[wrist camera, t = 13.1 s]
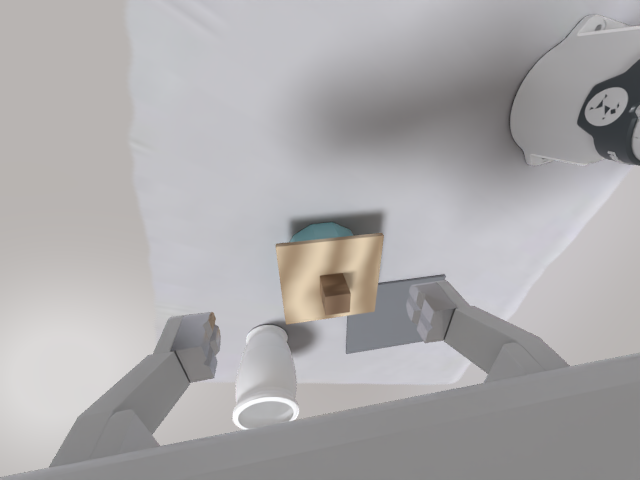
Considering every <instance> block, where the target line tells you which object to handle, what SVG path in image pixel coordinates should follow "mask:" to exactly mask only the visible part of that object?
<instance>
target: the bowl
mask: <svg viewBox="0 0 640 480" xmlns="http://www.w3.org/2000/svg"><path fill="white" fill-rule="evenodd" d="M346 236H354V235H353V233H352V232H351V230H350V229H347V228H345V227H343V226H340V225H338V224H336V223H333V222H329V223H318V224H311V225H309V226H308V227H306V228H304V229H303V230H301V231H300V232H298V233H296V234H295V235H293V237H292V239H291V241H290V242H298V241H308V240H317V239H327V238H336V237H346Z"/></svg>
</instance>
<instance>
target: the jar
mask: <svg viewBox="0 0 640 480" xmlns="http://www.w3.org/2000/svg"><path fill="white" fill-rule="evenodd" d="M287 340H288V336H287V333H286V332H285V331H284V330H283V329H282V328H280V327H278V326H274V325H262V326H259V327H256V328H254V329H253V330H251V331H250V332H249V333H248V335H247V337H246V343H247V345H246V347H245V349H244V352H243V354H242V358H241V362H240V365H239V369H238V373H237V378H236V403H237V405H236V406H235V408H234V410H233V422H234V424H235V425H236V426H238V427H239V428H241V429H243V430H246V429H251V428H256V427H261V426H267V425H272V424H277V423H282V422H287V421H292V420H295V419H296V417H297V416H298V413H299V407H298V403H297V401H296V399H295V397H296V371H295V366H294V362H293V359H292V354H291V351H290V348H289V346H288V344H287Z"/></svg>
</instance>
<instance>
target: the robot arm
mask: <svg viewBox="0 0 640 480" xmlns="http://www.w3.org/2000/svg"><path fill="white" fill-rule="evenodd" d="M510 128H511V133H512V136H513V139H514V140H515V142H516V143H517V144H518V145H519V146H520V147H521V148H522V150H523V151H524V155H525V160H526V163H527V164H528V165H532V166H538V165H542V164H545V163H549V162H552V161H561V162H566V163H570V164H575V165H581V166H587V165H588V164H590V163H596V162H599V161H601V160H604V159H609V160H614V161H616V162H619V163H623V164H629V165H640V26H629V25H626V24H624V23H621V22H618V21H615V20H612V19H610V18H607V17H604V16H601V15H588V16H586V17H585V18H583V19H582V20H581V21H580V22H579V23H578V25H577V26H576V27H575V28H574V29H573V30H572V32H571V33H570V34H569V35H568V37H567V38H566V39H565V40H564V41H562V42H561V43H560V44H558V45H557V46H556V47H554V48H553V49H551V50H550V51H549V52H548V53H546V54H545V55H544V56H543V57H542V58H541V59H540V60H539V61H538V62H537V63H536V64H535V65H534V67H533V68H532V69H531V70H530V72H529V73H528V75H527V76H526V78H525V79H524V81H523V82H522V84H521V86H520V88H519V90H518V92H517V94H516V97H515V100H514V103H513V106H512V110H511V117H510ZM409 293H410V295H411V296H410V297H409V298H408V299H407V304H406V307H407V313H408V315H409V318H410V319H411V321H412V322H413V323H415V324H417V325H418V326H417V331H418V333H419V334H420V336H421V338H422V339H423V341H424V343H429V342H436V341H443V340H444V342H446V343H447V344H448V345H450V346H451V347H452V348H454V349H455V350H456V351H458V352H459V353H460V354H462V355H463V356H465V357H466V358H467V359H469V360H470V361H471V362H473V363H474V364H475V365H477V366H478V367H480V368H481V369H482V370H484V371H485V372H486V373H487V374H488V375H487V377H486V379H485V381H484V383H482V384H477V385H472V386H467V387H462V388H456V389H451V390H446V391H441V392H436V393H431V394H426V395H420V396H415V397H411V398H405V399H400V400H395V401H390V402H384V403H379V404H374V405H370V406H365V407H359V408H354V409H349V410H344V411H339V412H333V413H328V414H323V415H318V416H313V417H308V418H303V419H298V420H292V421H287V422H282V423H277V424H272V425H267V426H261V427H256V428H251V429H246V430H241V431H236V432H231V433H225V434H220V435H215V436H210V437H205V438H200V439H195V440H189V441H184V442H179V443H174V444H169V445H164V446H160V445H159V443H158V442H157V441H156V440H155V438H154V437H153V436H152V434H153V433H154V432H155V430H156V429H157V428H158V426H159V425H160V424H161V422H162V421H163V420H164V418H165V417H166V416H167V414H168V413H169V412H170V410H171V409H172V408H173V406H174V405H175V404H176V402H177V401H178V400H179V398H180V397H181V396H182V394H183V393H184V392H185V390H186V389H187V388H188V386H189V385H190V383H191V382H197V381H202V380H207V379H212V378H214V376H215V371H216V366H217V359H216V357H215V355H216V354H217V353H218V352H219V350H220V340H221V336H220V330H219V327H218V326H217V325H215V320H216V318H215V316H214V313H213V312H207V313H198V314H189V315H183V316H174V317H170V318H169V319H168V321H167V323H166V325H165V328H164V330H163V332H162V334H161V337H160V339H159V341H158V344H157V346H156V348H155V350H154V353H153V354H152V355H148V356H147V357H146V358H145V359H143V360H142V361H141V362H140V363H139V364H138V365H137V366H136V367H135V368H133V369H132V370H131V371H130V372H129V373H128V374H126V375H125V376H124V377H123V378H122V379H121V380H120V381H118V382H117V383H116V384H115V385H114V386H113V387H112V388H111V389H110V390H108V391H107V392H106V393H105V394H104V395H103V396H101V397H100V398H99V399H98V400H97V401H96V402H95V403H93V404H92V405H91V406H90V407H89V408H88V409H87V410H85V411H84V412H83V413H82V414H81V415H80V416H79V417H78V418H77V420H76V422H75V423H74V425H73V427H72V428H71V430H70V432H69V434H68V435H67V437H66V439H65V440H64V442H63V444H62V446H61V447H60V449H59V451H58V452H57V454H56V456H55V457H54V459H53V461H52V463H51V464H50V466H49V468H45V469H40V470H35V471H29V472H24V473H19V474H14V475H9V476H4V477H0V480H640V353H636V354H631V355H626V356H621V357H616V358H611V359H605V360H600V361H595V362H590V363H585V364H580V365H575V366H570V365H568V364H567V363H566V362H565V361H564V360H563V359H562V358H561V357H560V356H559V355H558V354H557V353H556V352H555V351H554V350H553V349H551V348H550V347H549V346H548V345H547V344H546V343H545V342H544V341H543V340H542V339H541V338H539V337H538V336H536V335H534V334H532V333H529V332H527V331H525V330H523V329H521V328H519V327H517V326H515V325H513V324H510V323H509V322H506V321H504V320H502V319H500V318H498V317H496V316H494V315H492V314H490V313H488V312H486V311H483V310H481V309H479V308H477V307H475V306H470V305H469V304H468V303H467V302H466V301H465V300H464V299H463V297H462V296H461V295H460V294H459V293H458V292H457V291H456V290H455V289H454V288H453V286H452V285H451V284H450V283H449V282H448V281H446V280H442V281H435V282H429V283H422V284H415V285H411V287H410V289H409Z"/></svg>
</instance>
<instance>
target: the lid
mask: <svg viewBox="0 0 640 480" xmlns="http://www.w3.org/2000/svg"><path fill="white" fill-rule="evenodd" d="M383 238H384V235H383V234H382V233H374V234H364V235H355V236H346V237H336V238H327V239H317V240H308V241H298V242H289V243H279V244H276V253H277V260H278V268H279V275H280V283H281V290H282V298H283V305H284V313H285V320H286V324H293V323H300V322H307V321H314V320H320V319H327V318H334V317H341V316H348V315H355V314H361V313H368V312H375V304H376V295H377V287H378V279H379V271H380V263H381V255H382V246H383Z"/></svg>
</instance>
